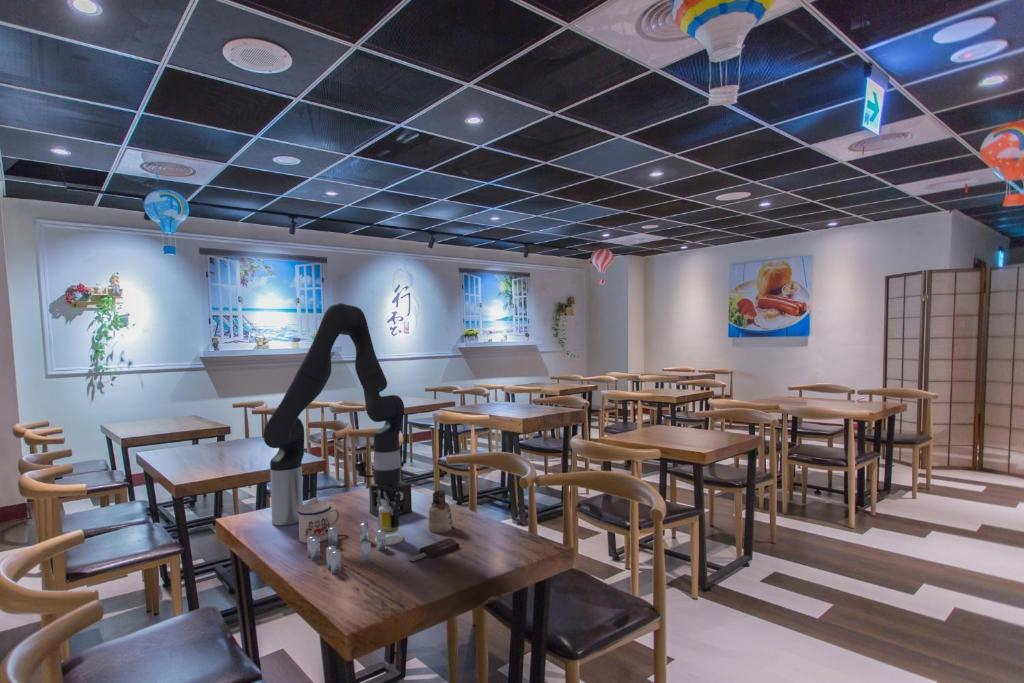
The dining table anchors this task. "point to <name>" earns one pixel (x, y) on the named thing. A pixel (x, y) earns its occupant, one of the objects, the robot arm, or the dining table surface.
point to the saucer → (393, 538)
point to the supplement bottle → (386, 518)
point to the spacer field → (335, 555)
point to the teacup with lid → (315, 519)
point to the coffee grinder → (360, 468)
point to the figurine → (440, 513)
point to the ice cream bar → (436, 549)
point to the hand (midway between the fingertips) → (388, 524)
